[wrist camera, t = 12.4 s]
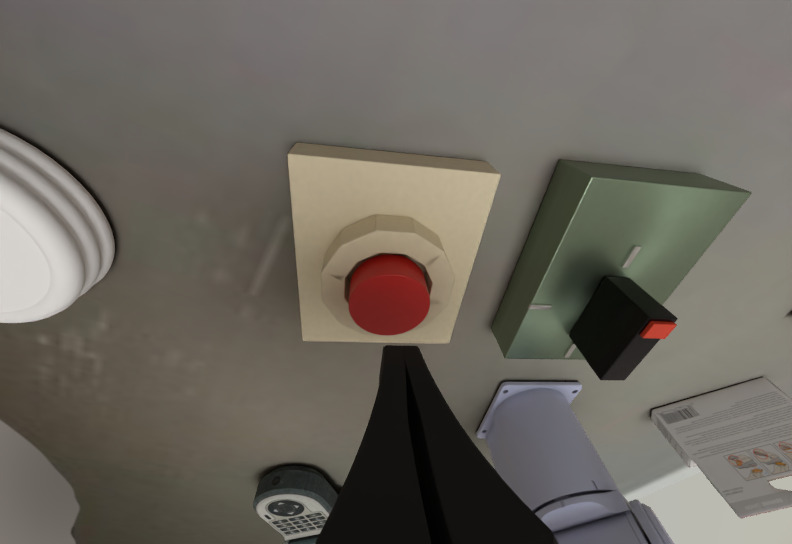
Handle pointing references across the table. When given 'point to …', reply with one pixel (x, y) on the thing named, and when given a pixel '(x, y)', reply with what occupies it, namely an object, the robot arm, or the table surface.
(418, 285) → the power button
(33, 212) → the coaster
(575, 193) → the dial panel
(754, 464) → the ink cartridge box
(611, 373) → the black rectangular block
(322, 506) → the communication device
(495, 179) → the box
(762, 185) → the table surface
